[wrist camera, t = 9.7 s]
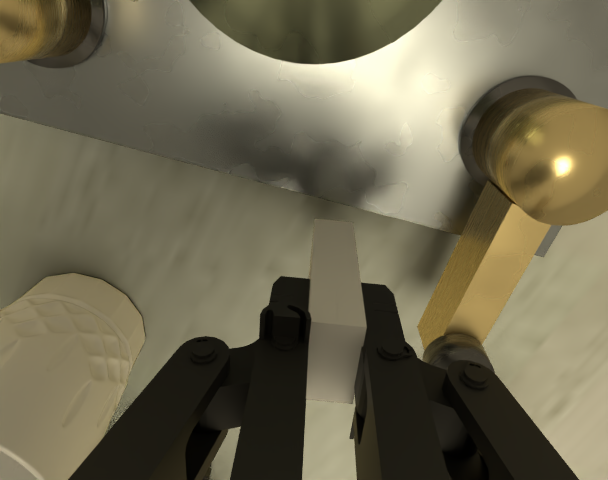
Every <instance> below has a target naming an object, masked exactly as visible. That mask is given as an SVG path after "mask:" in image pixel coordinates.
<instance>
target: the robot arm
mask: <svg viewBox="0 0 608 480" xmlns="http://www.w3.org/2000/svg"><path fill="white" fill-rule="evenodd" d="M354 394H355V402H356V407H355V412H354V417H353V422H352V428H351V433H350V438H349V439H354V441H355V456H356V472H357V480H579V479H578V478H577V476H576V475H575V474H574V473H573V471H572V470H571V469H570V468H569V466H568V465H567V464H566V463H565V461H564V460H563V459H562V457H561V456H560V455H559V454H558V452H557V451H556V450H555V449H554V447H553V446H552V445H551V444H550V442H549V441H548V440H547V439H546V437H545V436H544V435H543V433H542V432H541V431H540V430H539V428H538V427H537V426H536V425H535V423H534V422H533V421H532V420H531V418H530V417H529V416H528V414H527V413H526V412H525V411H524V409H523V408H522V407H521V406H520V404H519V403H518V402H517V401H516V399H515V398H514V397H513V396H512V394H511V393H510V392H509V390H508V389H507V388H506V387H505V385H504V384H503V383H502V382H501V380H500V379H499V378H498V377H497V376H496V375H495V374H494V373H493V372H492V371H491V370H490V369H489V368H487V367H485V366H483V365H482V364H479V363H476V362H473V361H469V360H458V361H454V362H452V363H451V364H450V365H449V366H448V368H447V370H445V369H442V368H439V367H436V366H433V365H430V364H428V363H426V362H423V361H422V360H420V359H418V358H417V355H416V353H415V351H414V349H413V348H412V347H411V346H410V345H409V344H408V343H407V342H405V338H404V334H403V330H402V326H401V322H400V318H399V314H398V310H397V306H396V302H395V298H394V294H393V293H392V292H391V291H390V290H389V289H388V288H387V287H386V285H379V284H368V283H361V280H360V272H359V265H358V257H357V250H356V242H355V235H354V227H353V222H347V221H336V220H326V219H315V220H314V230H313V240H312V249H311V259H310V269H309V279H305V278H295V277H284V276H281V277H280V278H279V279H278V280H277V281H276V282H275V283H274V284H273V287H272V292H271V297H270V303H269V305H268V306H267V307H265V308H264V309H263V310H262V312H261V314H260V333H259V339H258V340H257V341H255V342H254V343H252V344H250V345H247V346H244V347H239V348H232V349H229V347H228V346H227V345H226V344H225V342H224V341H222V340H220V339H217V338H215V337H207V336H205V337H197V338H194V339H191V340H189V341H186V342H185V343H184V344H183V345H182V346H180V347H179V348H178V350H177V351H176V352H175V353H174V354H173V356H172V357H171V358H170V359H169V360H168V361H167V363H166V364H165V365H164V366H163V367H162V369H161V370H160V371H159V372H158V373H157V375H156V376H155V377H154V378H153V379H152V380H151V382H150V383H149V384H148V385H147V386H146V388H145V389H144V390H143V391H142V392H141V393H140V395H139V396H138V397H137V398H136V399H135V401H134V402H133V403H132V404H131V405H130V407H129V408H128V409H127V410H126V411H125V412H124V414H123V415H122V416H121V417H120V418H119V420H118V421H117V422H116V423H115V424H114V426H113V427H112V428H111V429H110V430H109V431H108V433H107V434H106V435H105V436H104V437H103V439H102V440H101V441H100V442H99V443H98V445H97V446H96V447H95V448H94V449H93V450H92V452H91V453H90V454H89V455H88V456H87V458H86V459H85V460H84V461H83V462H82V463H81V465H80V466H79V467H78V468H77V469H76V471H75V472H74V473H73V474H72V475H71V477H70V478H69V479H68V480H202V479H203V477H204V476H205V474H206V472H207V470H208V468H209V466H210V464H211V463H212V461H213V459H214V457H215V455H216V453H217V452H218V450H219V448H220V446H221V444H222V442H223V440H224V439H225V437H226V435H227V432H228V429H230V428H235V427H240V426H241V429H240V434H239V439H238V444H237V448H236V453H235V458H234V463H233V468H232V472H231V477H230V480H302V467H303V448H304V428H305V408H306V399H307V400H317V401H327V402H338V403H348V404H353V399H354Z"/></svg>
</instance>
